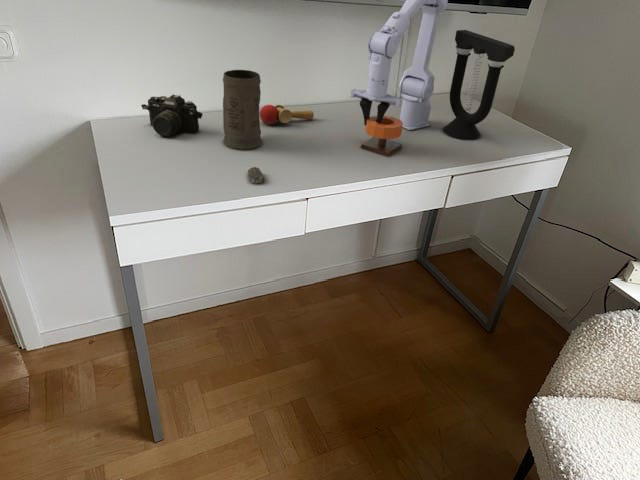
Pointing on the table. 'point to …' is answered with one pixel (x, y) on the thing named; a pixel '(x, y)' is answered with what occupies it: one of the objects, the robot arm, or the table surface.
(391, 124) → the ring
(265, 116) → the kendama
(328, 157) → the table surface
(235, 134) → the beer stein
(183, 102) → the film camera
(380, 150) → the stand
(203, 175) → the table surface
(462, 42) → the spring support
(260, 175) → the block
